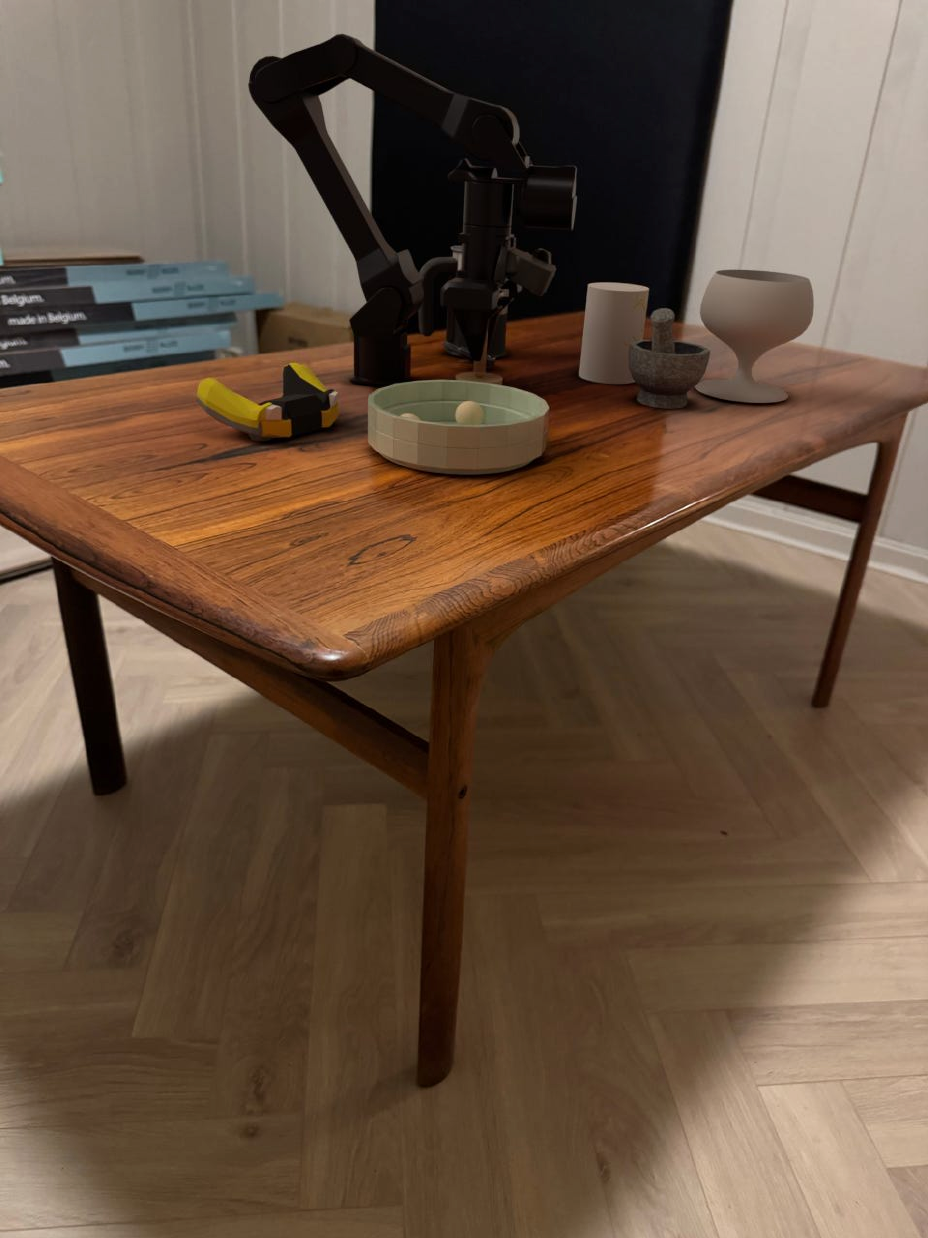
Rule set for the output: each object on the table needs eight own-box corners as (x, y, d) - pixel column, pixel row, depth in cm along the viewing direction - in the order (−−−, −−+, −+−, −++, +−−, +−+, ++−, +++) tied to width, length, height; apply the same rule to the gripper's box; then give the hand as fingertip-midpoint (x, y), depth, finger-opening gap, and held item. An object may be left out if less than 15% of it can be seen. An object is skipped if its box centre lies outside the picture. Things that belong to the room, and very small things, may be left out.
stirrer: (449, 392, 117) (453, 306, 112) (461, 382, 122) (465, 300, 117) (496, 397, 116) (501, 311, 111) (506, 386, 121) (511, 304, 116)
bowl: (342, 463, 89) (341, 412, 87) (400, 417, 105) (400, 373, 103) (525, 487, 86) (529, 435, 83) (557, 435, 101) (561, 390, 99)
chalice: (676, 396, 120) (694, 275, 113) (699, 376, 131) (718, 265, 125) (786, 413, 115) (812, 287, 108) (801, 391, 126) (826, 275, 119)
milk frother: (486, 345, 145) (492, 244, 138) (545, 366, 133) (554, 256, 126) (406, 351, 138) (408, 245, 131) (460, 374, 126) (465, 258, 119)
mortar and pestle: (639, 389, 123) (651, 295, 117) (708, 400, 119) (724, 303, 114) (609, 406, 114) (621, 305, 109) (683, 419, 110) (699, 315, 105)
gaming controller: (191, 430, 97) (254, 451, 91) (186, 378, 94) (251, 396, 89) (298, 406, 107) (359, 423, 102) (296, 358, 105) (359, 373, 100)
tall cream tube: (636, 386, 124) (648, 293, 119) (576, 380, 126) (585, 288, 120) (638, 373, 132) (649, 285, 126) (581, 368, 133) (590, 280, 127)
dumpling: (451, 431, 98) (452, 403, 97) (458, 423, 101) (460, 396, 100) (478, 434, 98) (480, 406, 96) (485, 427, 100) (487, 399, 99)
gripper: (539, 235, 100) (528, 380, 107) (566, 224, 116) (554, 350, 123) (441, 228, 102) (436, 370, 109) (480, 218, 118) (474, 342, 126)
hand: (480, 357), depth 117 cm, fingers open, 3 cm apart
